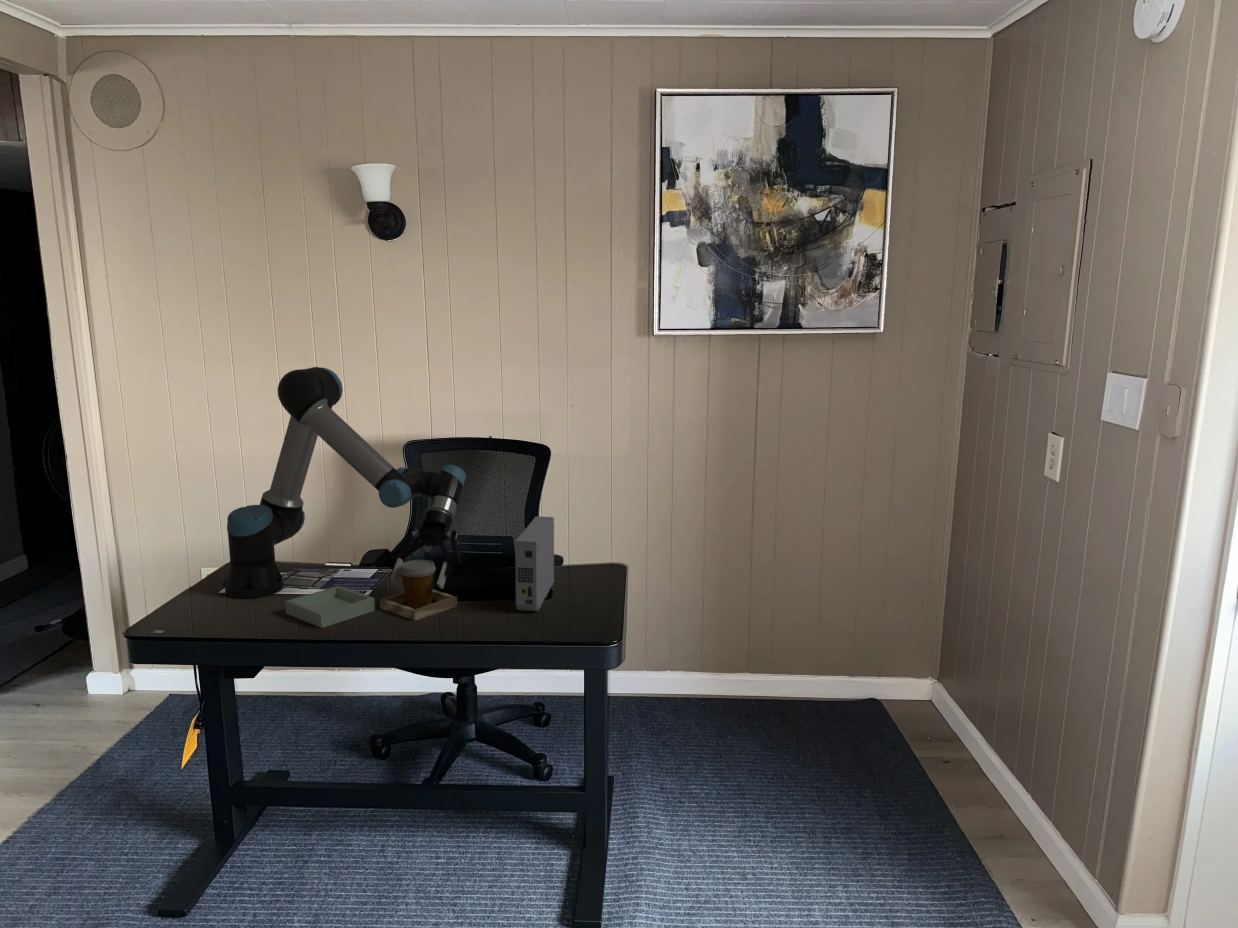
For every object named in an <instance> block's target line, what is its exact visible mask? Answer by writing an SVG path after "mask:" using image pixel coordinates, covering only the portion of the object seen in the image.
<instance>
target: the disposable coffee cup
mask: <svg viewBox="0 0 1238 928" xmlns="http://www.w3.org/2000/svg"><path fill="white" fill-rule="evenodd" d="M403 562H404V561H403ZM436 570H437V567H436V566H435V563H434V561H432V560H428V559H411V560H408V561H405V562H404V563H403V564H402V565H401V568H400V570H399V571H400V572H401V573H400V576H401V579H402V585H403V592H404V593H405V598H406V602H405V603H406V606H407V607H410V608H413V609H418V608H421V607H424V606H427V605H430V604H432V601H433V600H432V591H433V590H434V580H435V579H434V578H435V572H436Z"/></svg>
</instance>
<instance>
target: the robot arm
mask: <svg viewBox="0 0 1238 928" xmlns="http://www.w3.org/2000/svg"><path fill="white" fill-rule="evenodd" d="M343 388H344V387H343V384H342V381H341V379H340V378H339V376H338V375H337V374H336V373H335V372H334V371H333V370H332V369H329V368H326V367H319V366H313V367H308V368H303V369H302V368H301V369H293V370H291V371H288V372H287V373H286V374H284V375H283V377H281V378H280V381H279V382H278V385H277V397H278V400H279V403H281V406H282V407H283V408H284V410H285V411H286V412H287V413H288V414H289V415H290V417H289V421H288V425H287V428H286V431H285V435H284V438H283V441H282V442H283V443H282V445H281V449H280V453H279V456H278V459H277V464H276V466H275V471H274V474H273V478H272V482H271V484H270V487H269V489H268V490H266V491H264V492H262V496H261V498H260V502H259V504H249V505H246V506H241V507H237V508H235V509H233V510H232V511H231V512H229V514H228V516H227V525H226V531H227V539H228V540H227V542H228V549H229V550H228V551H229V565H230V566H229V570H228V574H227V576H226V580H225V585H224V589H225V595H226V596H228V597H230V598H233V599H234V598H235V599H256V598H261V597H266V596H270V595H275V594H276V593H279V592H280V591H282V590H283V589H284V578H283V576H282V574H281V572H280V570H279V567H278V565H277V563H276V555H275V554H276V552H275V551H276V550H275V546H276V545H278V544H280V543H282V542H284V541H286V540H289V539H291V538H292V537H294V536H295V535H297V534H298V533H299V532H300V531H301V530H302V528H303V526H304V524H305V520H306V514H305V511H304V510H303V506H304V503H305V502H304V501H303V499H302V498H301V496H302V491H303V489H304V484H305V480H306V479H307V478H306V477H307V473H308V471H309V468H310V464H311V460H312V457H313V454H314V450H315V447H316V443H317V440H318V437H319V438H320V439H322V441H324V443H326V444H327V445H328V446H329V447H331V449H332V450H333V451H334V452H335V453H336V454H337V455H339V456H340V457H341V458H342V459H343V460H344V461H345V462H346V463H347V464H349V466H350V467H352V468H353V469H354V470H355V471H356V472H357V473H358V474H360V476H361V477H363V478H364V479H365V480H366V481H367V482H368V483H369V484H370V485H371V486H372V487H373V488H374V489H376V490H377V492H378V497H379V500H380V502H381V503H382V504H383V505H384V506H385V507H387V508H391V509H394V508H396V509H397V508H399V507H402V506H405V505H406V504H407V503H409V502H410V501H412V500H414V499H416V498H417V497H426V498H430V501H429V503H428V507H427V509H426V513H425V515H424V518H423V521H422V525H421V527H420V529H417V528H414V527H413V526H410V527H409V529H408V531H407V533H406V534H405V536H404V537H403V538H402V539H401V540H400V541H399V542H398V543H397V544H396V545H395V547H394V548H393V549H392V550H391V551H390V552H389V556H390V557H391V558H392V559H393V563H392V566H391V570H392V574H391V577H390V581H391V582H392V584H393V585H397V584H398V581H399V579H400V576H401V572H400V571H399V570H400V568H401V565H402V564H403V563H404V560H406V559H407V558H409V556H411V555H412V554H413V553H415V552H416V551H418V550H419V549H420V548H423V547H424V546H425V547H434V548H436V547H438V546H439V548H440V550H441V552H442V554H443V555H444V558H445V560H446V561H443V563H442V567H441V569H440V573H439V576H438V580H437V582H436V585H437V586H438V588H439V589H444V586H445V583H446V580H447V577H450V576H451V575H452V571H453V567H454V566H456V565H458V566H460V565H462V558H461V554H460V548H459V545H458V544H459V543H458V541H459V535H458V533H457V531H456V530H455V529H453V530H451V531H450V529H451V526H452V523H453V520H454V516H455V513H456V510H457V508H458V504H459V501H460V498H461V496H462V493H463V491H464V486H465V484H466V483H465V482H466V478H467V474H466V472H465V471H464V469H462V468H461V467H460V466H456V465H454V464H448V465H444V466H442V467H441V469H440V470H439V471H432V470H424V469H417V468H413V467H398V468H397V469H396V468H395V467H394V466H393V465H392V464H391V463H390V462H389V461H388V460H387V459H385V457H384V456H382V455H381V454H380V453H379V452H378V451H377V450H376V449H375V448H374V447H373V446H371V445H370V443H368V442H367V440H365V439H364V438H363V437H362V436H361V435H360V434H359V433H357V431H356V430H354V429H353V428H352V427H351V426H350V425H349V424H348V423H347V422H345V420H344V419H343V418H342V417H341V416H340V415H338V414H337V413H336V412H335V411H334V410H333V407H334V406H335V405H337V403H338V402H340V400H341V398H342V396H343V390H344V389H343ZM448 538H449V540H450V545H451V550H452V554H453V558H452V557H451V555H450V553H449V550H448V548H447V546H446V545H445V542H444V541H445V540H447V539H448Z"/></svg>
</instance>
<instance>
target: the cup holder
mask: <svg viewBox="0 0 1238 928" xmlns="http://www.w3.org/2000/svg"><path fill="white" fill-rule="evenodd" d="M432 601H434V602H433V603H431V604H430V605H427V606H424V607H421V608H418V609H413V608H410V607H407V605H404V604H405V603H406V598H405V593H404V591H403V592H400V593H397V594H393V595H390V596H387V597H384V598H381V599H379V609H380V610H384V611H386V612H388V611H389V613H391V612H392V614H394V615H397V614H398V615H397V616H400V617H404V618H406V619H409V620H412V621H413V622H416V621H418V620H422V619H424V618H428V617H429V616H432V615H436V614H439V613H441V612H444V611H447V610H450V609H452V608H455V607H458V596H454V595H452V594H450V593H449V594H448V593H446V592H442V591H439V590H436V589H433V591H432Z"/></svg>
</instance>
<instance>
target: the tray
mask: <svg viewBox="0 0 1238 928" xmlns="http://www.w3.org/2000/svg"><path fill="white" fill-rule="evenodd" d="M375 602H376V600H375V597H372V596H369V595H367V594H364V593H361V592H358V591H355V590H353V589H349V588H346V587H343V586H341V585H336V586H332V587H329V588H326V589H325V588H324V589H323V590H318V591H315V592H312V593H308V594H305V595H301V596H298V597H295V598H291V599H288V600H287V599H286V600H285V601H284V603H285V614H286V615H289V616H291V617H293V618H296V619H298V620H301V621H303V622H306V623H309V624H311V625H313V626H316V627H318V628H321V629H323V628H326V627H329V626H332V625H335V624H338V623H341V622H344V621H348V620H350V619H353V618H356V617H359V616H360V617H361V616H363V615H366V614H368V613H372V612H375V611H376V605H375V604H376V603H375ZM322 627H323V628H322Z"/></svg>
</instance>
